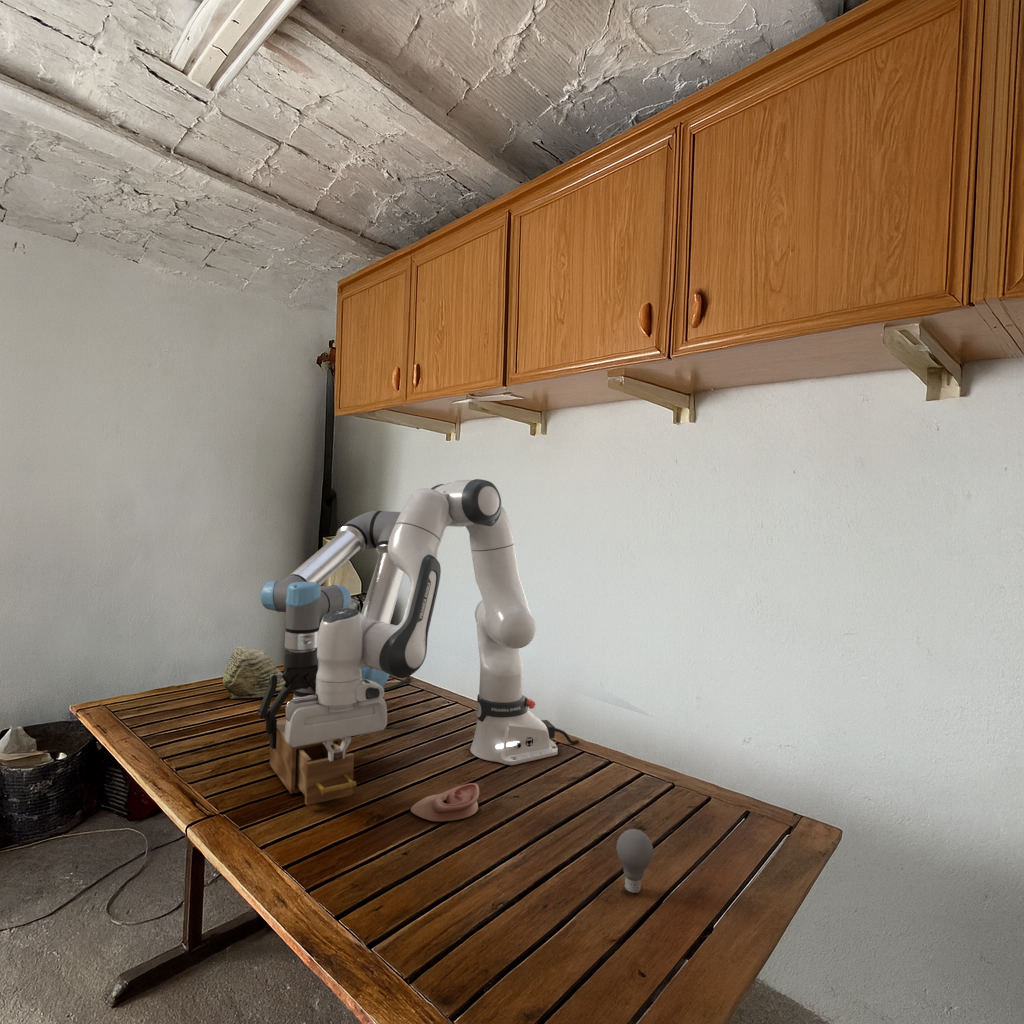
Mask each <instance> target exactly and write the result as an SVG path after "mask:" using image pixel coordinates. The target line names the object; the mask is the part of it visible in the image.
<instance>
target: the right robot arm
mask: <svg viewBox="0 0 1024 1024" xmlns="http://www.w3.org/2000/svg"><path fill="white" fill-rule="evenodd" d="M400 512H401V513H400V515H399V517H398V519H397V521H396V523H395V526H394V528H393V530H392V533H391V535H390V538H389V542H388V553H389V556H390V558H391V560H392V562H393V563H394V564H395V565H396V566H397V567H398V568H399V569H400V570H402V571H403V572H404V573H405V575H406V576H407V577H408V579H409V582H410V589H409V593H408V597H407V601H406V605H405V609H404V612H403V617H402V620H401V622H399V623H398V624H397V625H396V624H392V623H390V624H387V623H384V622H380V621H376V620H373V619H370V618H367V617H365V616H363V615H362V614H361V612H360V611H359V610H358V609H356V608H352V607H351V608H350V607H349V608H345V609H337V610H333V611H331V612H329V613H327V614H326V615H324V617H323V618H322V619H321V620H320V622H319V633H318V642H317V658H318V662H319V667H318V671H317V675H316V694H313V695H308V696H303V697H295V698H293V697H292V699H293V700H292V699H291V700H290V701H288V702H287V703H286V704H285V709H284V718H285V719H287V720H286V725H285V734H284V739H285V741H286V742H287V744H288V745H290V746H291V747H298V746H304V745H309V744H314V743H319V742H323V744H324V745H325V747H326V749H327V750H328V760H329V761H330V762H331V761H335V760H340V759H344V758H345V752H346V750H347V749H348V748H349V746H350V744H351V742H352V737H356V736H360V735H361V736H362V735H367V734H372V733H377V732H382V731H384V730H385V729H386V727H387V725H388V708H387V703H386V700H385V699H384V698H383V697H384V696H385V691H384V689H383V688H384V686H383V687H381V686H380V685H379V684H377V683H376V682H374V681H371V680H367V679H362V673H361V669H362V668H363V667H367V666H368V667H370V668H373V669H377V670H380V671H384V672H386V673H388V674H390V675H391V676H393V677H395V678H398V679H406V678H407V677H408V676H410V677H411V676H412V675H414V674H415V673H416V672H417V671H418V670H420V668H421V667H422V665H423V664H424V662H425V660H426V657H427V651H428V637H429V630H430V627H431V622H432V617H433V613H434V609H435V604H436V600H437V596H438V591H439V586H440V581H441V573H442V571H441V569H442V568H441V563H440V561H439V560H438V552H439V547H440V545H441V542H442V540H443V536H444V533H445V530H446V528H447V527H454V528H462V527H465V528H466V529H467V531H468V534H469V535H468V536H469V544H470V545H469V546H470V553H471V559H472V565H473V570H474V578H475V583H476V584H477V587H478V590H479V593H480V596H481V599H480V601H479V602H478V603H477V605H476V607H475V610H474V619H475V623H476V634H477V646H478V647H477V648H478V657H479V688H478V689H479V691H478V694H477V698H476V703H475V704H476V707H475V715H476V724H475V731H474V735H473V739H472V742H471V745H470V749H469V750H470V753H471V754H472V755H473V756H475V757H477V758H479V759H481V760H485V761H488V762H495V763H500V764H504V765H507V766H515V765H519V764H523V763H529V762H533V761H537V760H541V759H545V758H550V757H554V756H558V754H559V748H558V745H557V744H556V743H555V742H554V740H552V739H555V736H556V733H559V734H561V735H563V736H564V738H565V739H566V740H567V742H568V743H569V744H572V745H576V744H579V743H580V740H579V739H574V740H572V738H570V736H569V734H568V733H567V732H566V731H564V730H562V729H560V728H557V727H556V726H555V725H553V724H552V723H551V722H550V721H549V720H548V719H542V720H541V719H540V718H539V717H538V716H537V715H536V714H534V713H533V712H532V711H531V710H533V709H535V707H536V701H534V700H533V699H531V698H528V697H526V695H523V687H524V684H523V683H524V682H523V681H524V664H523V661H522V657H521V652H520V649H523V648H525V647H527V646H528V645H529V644H531V642H532V641H533V639H534V638H535V636H536V632H537V624H536V620H535V618H534V616H533V614H532V611H531V608H530V605H529V602H528V599H527V596H526V592H525V589H524V587H523V583H522V580H521V576H520V572H519V567H518V560H517V554H516V547H515V541H514V536H513V530H512V527H511V523H510V519H509V516H508V514H507V512H506V510H505V508H504V507H503V506H502V498H501V495H500V492H499V489H498V488H497V486H496V485H495V484H494V483H493V482H491V481H489V480H487V479H481V478H475V479H459V480H455V481H451V482H447V483H440V484H436V485H435V486H433V487H431V488H428V487H423V488H418V489H416V490H415V491H413V493H412V494H411V495H410V497H409V498H408V499H407V501H406V503H405V504H404V506H403V507H402V508H401V511H400ZM292 702H293V703H292ZM529 709H531V710H529ZM340 738H341V739H342V743H341V745H340V747H339V748H337V749H332V748H331V746H330V745H333V740H335V739H340Z"/></svg>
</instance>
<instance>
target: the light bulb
mask: <svg viewBox="0 0 1024 1024" xmlns="http://www.w3.org/2000/svg"><path fill="white" fill-rule="evenodd" d="M615 849H616V854H617V857H618V859H619V861H620V863H621V865H622V867H623V873H624V874H623V875H624V876H625V878H624V888H625V890H627V891H628V892H630V893H634V894H635V893H639V892H640V891H641V889H642V887H641V886H642V879H643V877H644V875H645V871H646V868H647V867H648V866H649V864H650V863H651V861H652V859H653V855H654V847H653V843H652V841H651V838H649V836H648V835H647V834H646V833H645V832H643V831H642V830H641V829H636V828H629V829H627V830H625V831H623V832H622V833H621V834H620V835H619V837H618V839H617V841H616V847H615Z"/></svg>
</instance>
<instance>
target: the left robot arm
mask: <svg viewBox="0 0 1024 1024" xmlns="http://www.w3.org/2000/svg"><path fill="white" fill-rule="evenodd" d="M400 513H401V511H390V510H389V511H387V510H372V511H367V512H364V513H361V514H360V515H357V516H356V517H353V518H352V519H350V520H348V521H347V522H345V524H343V525H342V526H340V527H339V528H338V529H337V531H336V533H335V536H334V537H333V538H331V539H330V540H328V542H327V543H325V545H324V546H322V547H321V548H319V550H317V551H316V552H315V553H314V554H312V555H311V556H309V558H308V559H306V560H305V561H304V562H303V563H302V564H301V565H299V566H298V567H297V568H296V569H295V570H293V572H291V573H290V574H288V576H286V577H285V578H284V579H283V580H281V581H280V580H270V581H268V582H266V583H265V584H264V585H263V587H262V589H261V591H260V601H261V604H262V606H263V607H264V609H266V610H270V611H274V612H276V613H277V612H278V613H285V631H284V633H285V634H284V648H285V651H284V655H283V656H284V658H283V659H284V661H283V670H282V672H281V673H279V674H274V673H271V674H270V675H269V684H268V687H267V689H266V692H265V695H264V697H262V700H261V703H260V706H259V708H258V711H257V716H258V717H259V718H260V719H261V720H265V732H266V734H267V735H269V744H268V745H269V748H270V747H271V748H272V749H276V730H277V720H278V719H277V718H276V716H277V714H278V712H279V710H280V709H281V708H282V706H283V704H284V703H285V701H286V700H287V699H288V697H289V695H290V694H291V693H292V692H293V695H292V696H293V697H292V699H291V700H293V698H295V697H303V696H308V695H313V694H316V675H317V671H318V667H319V662H318V658H317V642H318V633H319V627H320V621H321V620H322V618H323V617H324V615H326V614H327V613H329V612H331V611H333V610H337V609H345V608H350V607H351V604H352V595H351V591H349V589H348V588H347V587H346V586H344V585H341V584H331V585H323V584H324V583H325V582H326V581H327V580H328V579H329V578H331V576H332V575H333V574H335V573H336V572H337V571H338V570H339V569H340V568H342V566H344V565H345V564H346V563H347V562H348V561H349V560H350V559H351V558H352V557H353V556H357V555H360V554H361V553H363V552H364V551H365V550H369V549H375V552H376V553H377V555H378V558H377V561H376V564H375V568H374V571H373V573H372V577H371V580H370V583H369V586H368V589H367V592H366V596H365V599H364V602H363V606H362V608H361V612H360V613H361V614H362V615H363V616H365V617H367V618H370V619H373V620H376V621H380V622H384V623H387V624H391V621H392V619H393V614H394V611H395V608H396V604H397V600H398V597H399V594H400V591H401V588H402V585H403V581H404V577H405V575H406V573H404V572H403V571H402V570H400V569H399V568H398V567H397V566H396V565H395V564H394V563H393V562H392V560H391V558H390V556H389V553H388V542H389V538H390V535H391V533H392V530H393V528H394V526H395V523H396V521H397V519H398V517H399V515H400ZM361 673H362V679H367V680H371V681H374V682H376V683H377V684H379V685H380V686H381V687H383V689H384V692H385V691H389V690H391V689H395V688H398V687H401V686H403V685H405V684H406V683H407V682H408V681H409V679H410V678H411V675H410V676H408V677H406V678H404V680H403V681H401V682H399V683H397V684H394V685H390V686H387V687H386V686H385V685H386V683H387V682H388V680H389V678H390V674H388V673H386V672H384V671H380V670H377V669H373V668H370V667H368V666H367V667H363V668H362V669H361ZM282 678H283V679H284V681H285V684H284V685H283V687H282V690H281V691H280V693H279V694H277V696H276V698H275V699H274V701H273V698H274V696H275V695H274V693H275V690H276V687H277V684H278V683H279V682H280V680H281V679H282ZM272 701H273V702H272ZM271 703H272V704H271ZM292 703H293V702H292Z"/></svg>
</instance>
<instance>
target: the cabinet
mask: <svg viewBox="0 0 1024 1024" xmlns="http://www.w3.org/2000/svg"><path fill="white" fill-rule="evenodd" d="M276 720H277V730H276V749H272V748H271V747H270V746H269V766H270V767H271V769H272V770H273V772H274V773H275V774H276V776H277V777H278V778H279V780H280V781H281V782H282V784H283V785H284V786H285V788H286V789H287V791H288V792H289V794H290V795H293V794H298V793H302V791H301V790H300V789H299V788H298V786H297V785H296V784H295V778H296V749H299V748H305V747H310V746H315V745H321V744H323V742H319V743H314V744H309V745H304V746H298V747H291V746H290V745H288V744H287V742H286V741H285V739H284V734H285V725H286V720H287V719H286V718H284V719H283V718H282V719H276ZM342 741H343V740H342V739H341V738H340V739H335V740H333V742H335V743H336V744H337V745H338V746H339V747H340V745H341V743H342Z"/></svg>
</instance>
